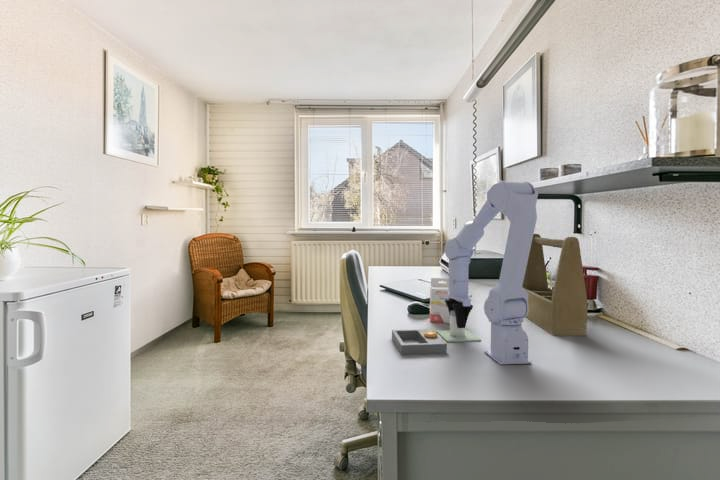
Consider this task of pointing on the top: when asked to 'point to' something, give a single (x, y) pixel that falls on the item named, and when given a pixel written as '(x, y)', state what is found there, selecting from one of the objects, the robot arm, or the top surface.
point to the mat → (467, 338)
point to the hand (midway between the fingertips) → (458, 325)
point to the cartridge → (455, 326)
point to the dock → (421, 348)
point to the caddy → (557, 289)
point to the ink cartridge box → (439, 301)
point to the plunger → (430, 334)
